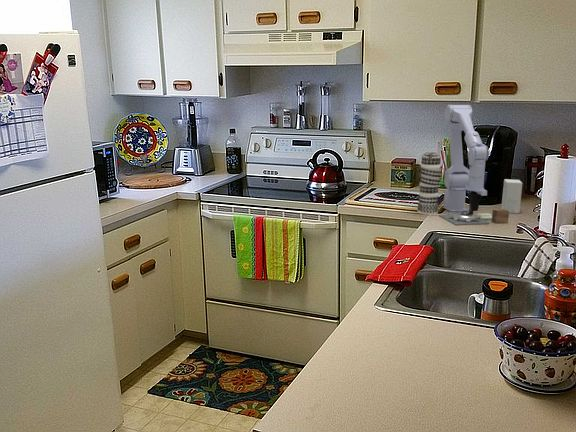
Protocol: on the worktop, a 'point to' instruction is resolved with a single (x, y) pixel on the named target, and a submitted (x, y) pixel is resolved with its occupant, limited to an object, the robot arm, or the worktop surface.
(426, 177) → the decorative candle
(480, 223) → the slate board
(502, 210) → the link block
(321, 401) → the worktop surface
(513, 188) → the small box
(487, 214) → the timing pad
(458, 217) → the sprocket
